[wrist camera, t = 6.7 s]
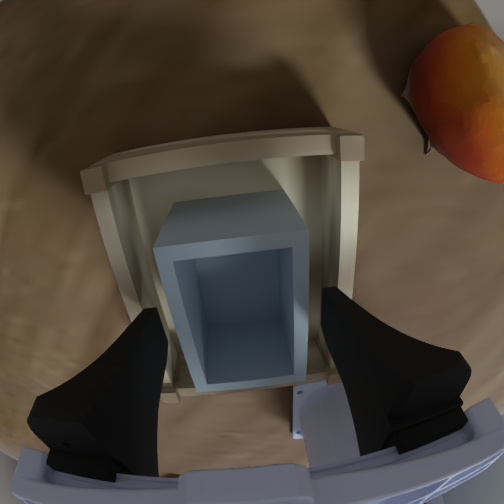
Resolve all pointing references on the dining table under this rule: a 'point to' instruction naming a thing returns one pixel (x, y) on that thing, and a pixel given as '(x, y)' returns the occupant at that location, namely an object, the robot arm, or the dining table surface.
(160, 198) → the pine crate
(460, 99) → the fruit
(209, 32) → the dining table surface
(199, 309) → the small crate
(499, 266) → the dining table surface
